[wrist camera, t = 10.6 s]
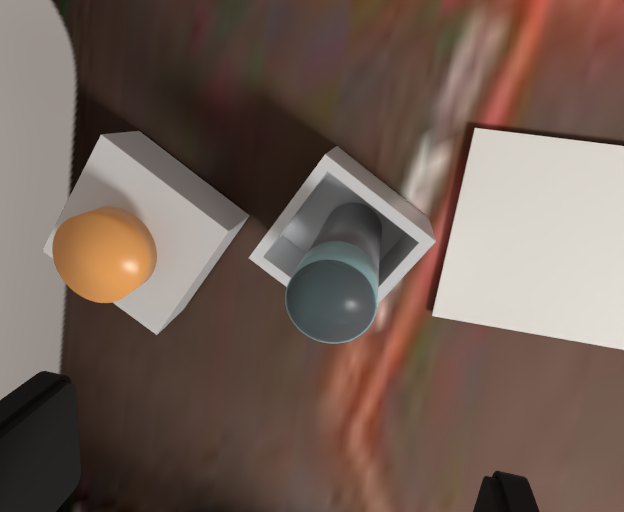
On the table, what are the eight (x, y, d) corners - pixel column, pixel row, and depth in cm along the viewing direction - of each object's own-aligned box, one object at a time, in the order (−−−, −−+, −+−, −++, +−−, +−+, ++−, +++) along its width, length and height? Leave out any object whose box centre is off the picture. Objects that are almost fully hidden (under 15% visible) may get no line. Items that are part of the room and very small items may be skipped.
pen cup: (428, 218, 27) (435, 241, 23) (356, 299, 30) (349, 334, 25) (336, 145, 27) (325, 154, 22) (271, 234, 30) (248, 258, 25)
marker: (394, 224, 27) (396, 295, 17) (359, 269, 29) (341, 359, 18) (346, 189, 27) (318, 240, 17) (312, 236, 29) (268, 308, 18)
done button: (172, 243, 25) (154, 254, 23) (132, 304, 27) (112, 319, 25) (99, 188, 25) (74, 195, 23) (64, 254, 26) (38, 265, 24)
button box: (249, 215, 29) (228, 231, 26) (184, 308, 33) (156, 334, 29) (138, 130, 29) (101, 134, 25) (83, 234, 32) (42, 250, 28)
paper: (785, 165, 23) (788, 166, 23) (694, 360, 27) (696, 362, 27) (474, 127, 25) (475, 127, 25) (432, 314, 29) (432, 315, 29)
